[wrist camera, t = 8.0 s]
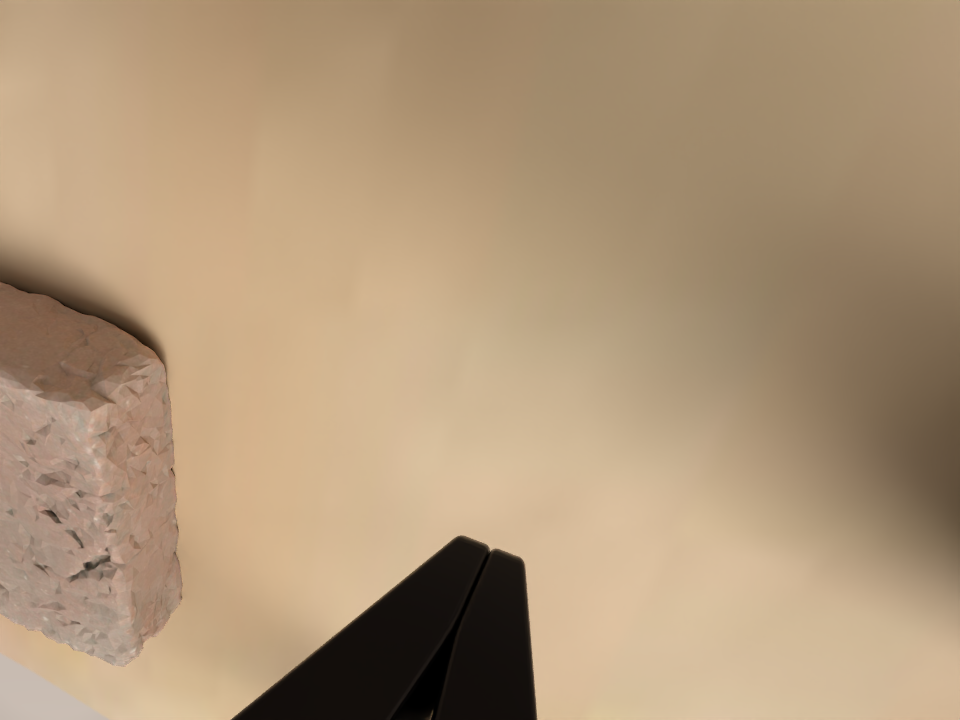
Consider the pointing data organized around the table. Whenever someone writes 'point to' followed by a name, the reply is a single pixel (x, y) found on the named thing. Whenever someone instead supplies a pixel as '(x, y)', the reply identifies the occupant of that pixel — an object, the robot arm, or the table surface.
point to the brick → (84, 480)
